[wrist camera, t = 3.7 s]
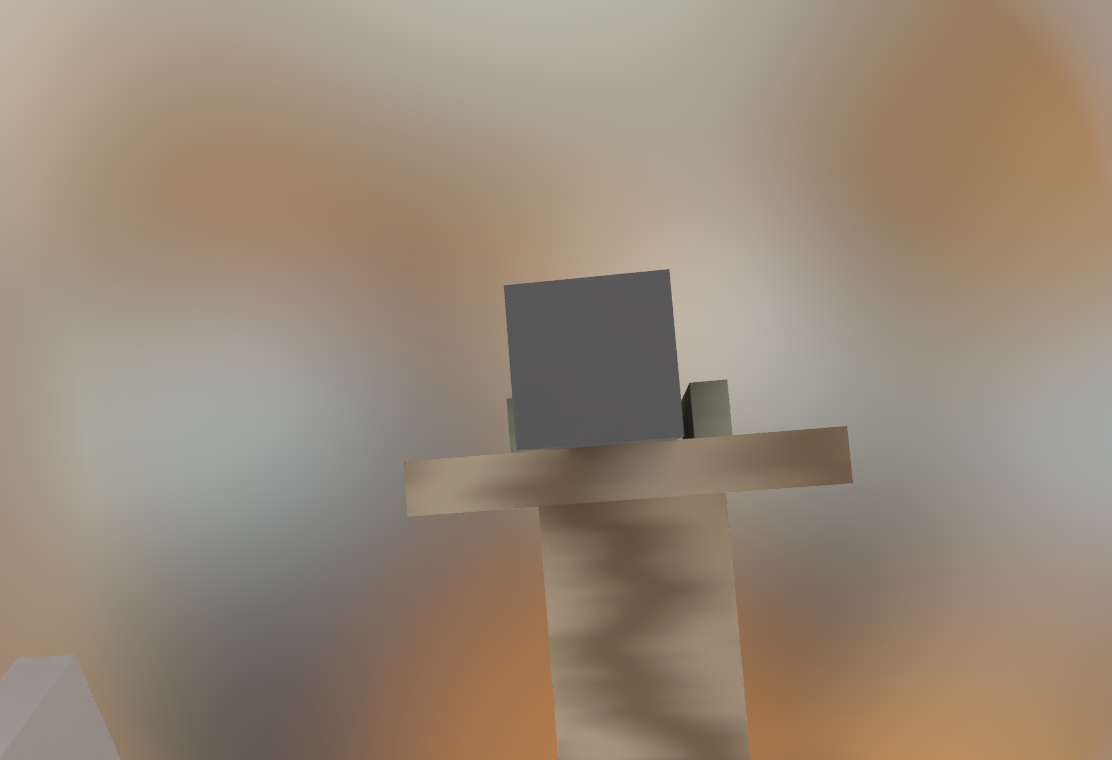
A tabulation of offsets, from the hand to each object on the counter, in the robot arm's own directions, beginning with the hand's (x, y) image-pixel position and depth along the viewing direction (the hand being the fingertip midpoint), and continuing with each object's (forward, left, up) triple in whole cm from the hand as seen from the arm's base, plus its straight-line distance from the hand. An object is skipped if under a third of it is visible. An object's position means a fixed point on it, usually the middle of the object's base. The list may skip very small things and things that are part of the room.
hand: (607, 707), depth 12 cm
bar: (0, +17, +3) cm, 17 cm away
